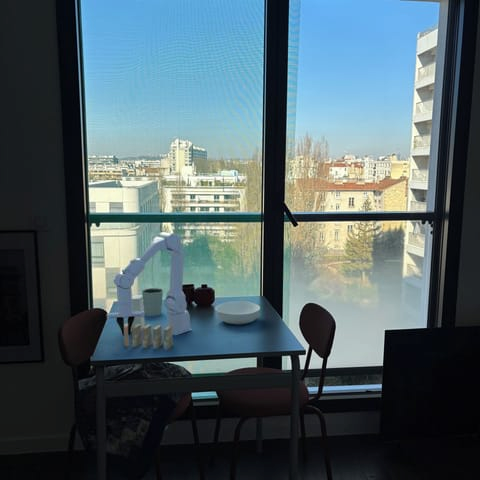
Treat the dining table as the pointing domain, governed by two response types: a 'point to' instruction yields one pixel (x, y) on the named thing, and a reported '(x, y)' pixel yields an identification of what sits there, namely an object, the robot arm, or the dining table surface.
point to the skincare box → (138, 306)
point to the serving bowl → (237, 312)
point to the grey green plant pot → (152, 301)
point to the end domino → (126, 335)
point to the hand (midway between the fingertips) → (126, 334)
